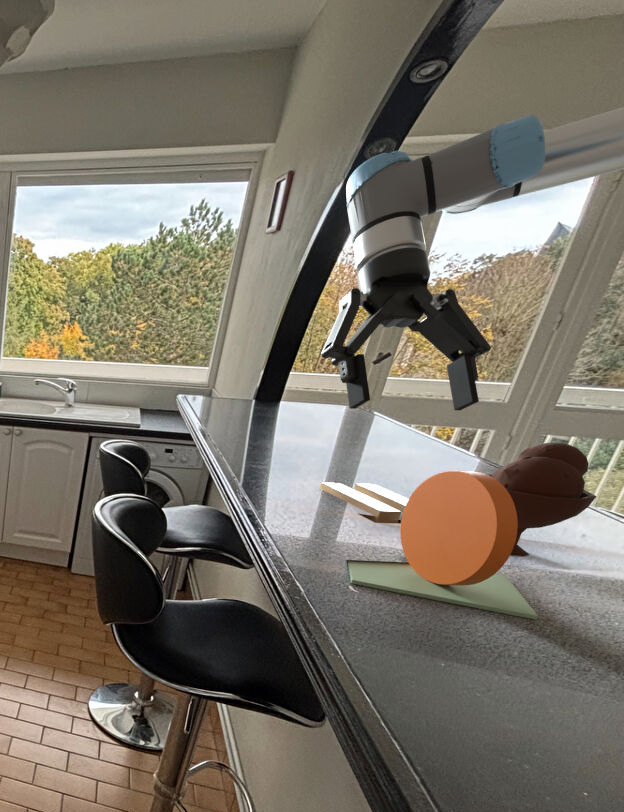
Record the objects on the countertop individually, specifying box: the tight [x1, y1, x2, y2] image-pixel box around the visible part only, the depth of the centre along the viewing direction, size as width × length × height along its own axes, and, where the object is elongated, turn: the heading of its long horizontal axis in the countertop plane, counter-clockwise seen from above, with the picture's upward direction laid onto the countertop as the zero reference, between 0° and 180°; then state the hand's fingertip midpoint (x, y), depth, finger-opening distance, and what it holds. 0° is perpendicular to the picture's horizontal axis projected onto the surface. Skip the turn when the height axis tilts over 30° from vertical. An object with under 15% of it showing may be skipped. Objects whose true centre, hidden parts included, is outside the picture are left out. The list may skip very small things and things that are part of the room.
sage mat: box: [345, 559, 539, 621], centre depth 70 cm, size 16×12×1 cm
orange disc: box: [399, 470, 518, 586], centre depth 67 cm, size 2×13×13 cm, turn 175°
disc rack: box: [319, 482, 409, 525], centre depth 93 cm, size 9×15×3 cm, turn 175°
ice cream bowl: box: [487, 441, 598, 557], centre depth 75 cm, size 11×11×15 cm
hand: (412, 405), depth 77 cm, fingers open, 13 cm apart
